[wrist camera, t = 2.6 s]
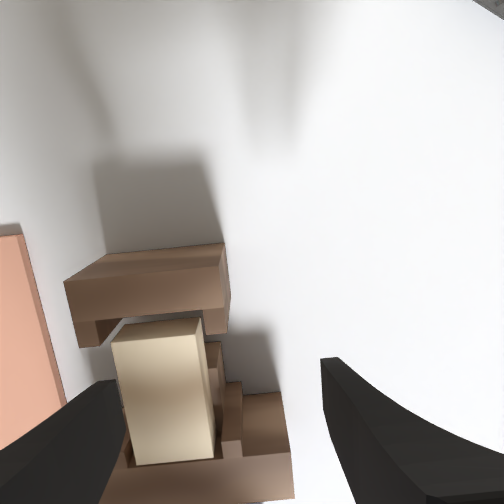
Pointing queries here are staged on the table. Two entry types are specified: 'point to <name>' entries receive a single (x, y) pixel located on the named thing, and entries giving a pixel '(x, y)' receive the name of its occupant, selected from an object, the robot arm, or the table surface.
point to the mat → (23, 348)
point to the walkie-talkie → (493, 6)
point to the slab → (166, 390)
